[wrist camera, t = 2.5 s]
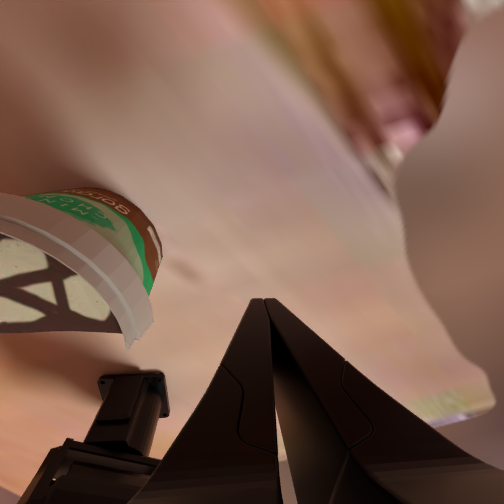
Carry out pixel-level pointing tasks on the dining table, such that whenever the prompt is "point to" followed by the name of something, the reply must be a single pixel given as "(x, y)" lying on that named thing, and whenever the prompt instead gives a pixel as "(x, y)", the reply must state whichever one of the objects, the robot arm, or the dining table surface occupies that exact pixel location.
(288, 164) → the dining table surface
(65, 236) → the food container
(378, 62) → the dining table surface
